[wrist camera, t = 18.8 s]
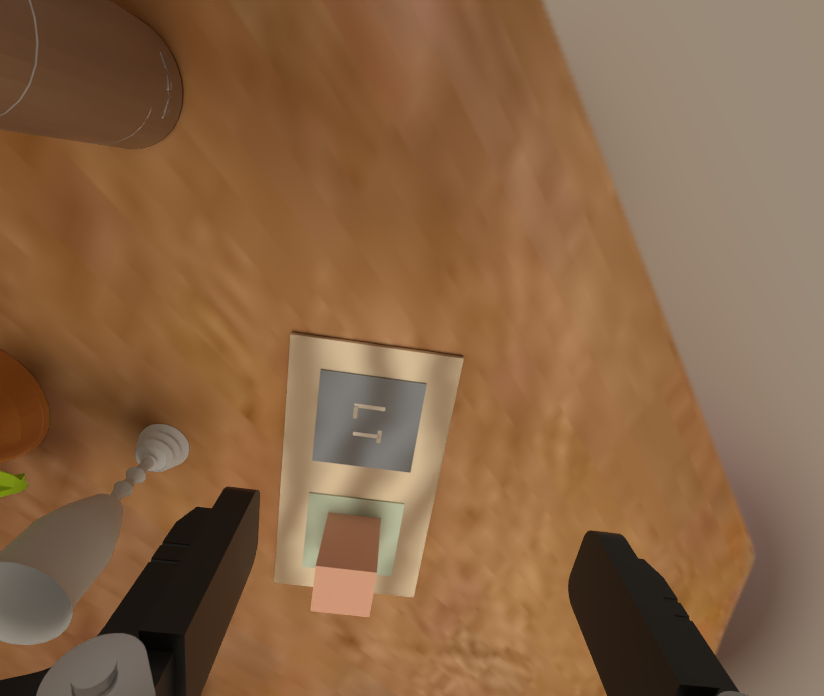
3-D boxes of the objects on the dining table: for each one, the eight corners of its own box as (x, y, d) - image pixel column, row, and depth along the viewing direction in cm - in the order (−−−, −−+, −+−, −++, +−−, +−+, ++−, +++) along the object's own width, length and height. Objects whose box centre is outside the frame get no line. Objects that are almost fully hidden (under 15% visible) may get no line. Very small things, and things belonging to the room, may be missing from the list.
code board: (275, 578, 50) (273, 584, 50) (292, 332, 40) (290, 334, 40) (413, 592, 51) (413, 598, 51) (462, 356, 41) (463, 359, 41)
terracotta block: (323, 553, 48) (310, 611, 42) (328, 512, 46) (315, 565, 40) (374, 559, 49) (369, 617, 42) (380, 518, 47) (376, 572, 40)
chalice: (163, 402, 43) (3, 542, 26) (214, 450, 44) (96, 610, 28) (112, 441, 44) (-71, 599, 27) (163, 486, 46) (22, 660, 29)
